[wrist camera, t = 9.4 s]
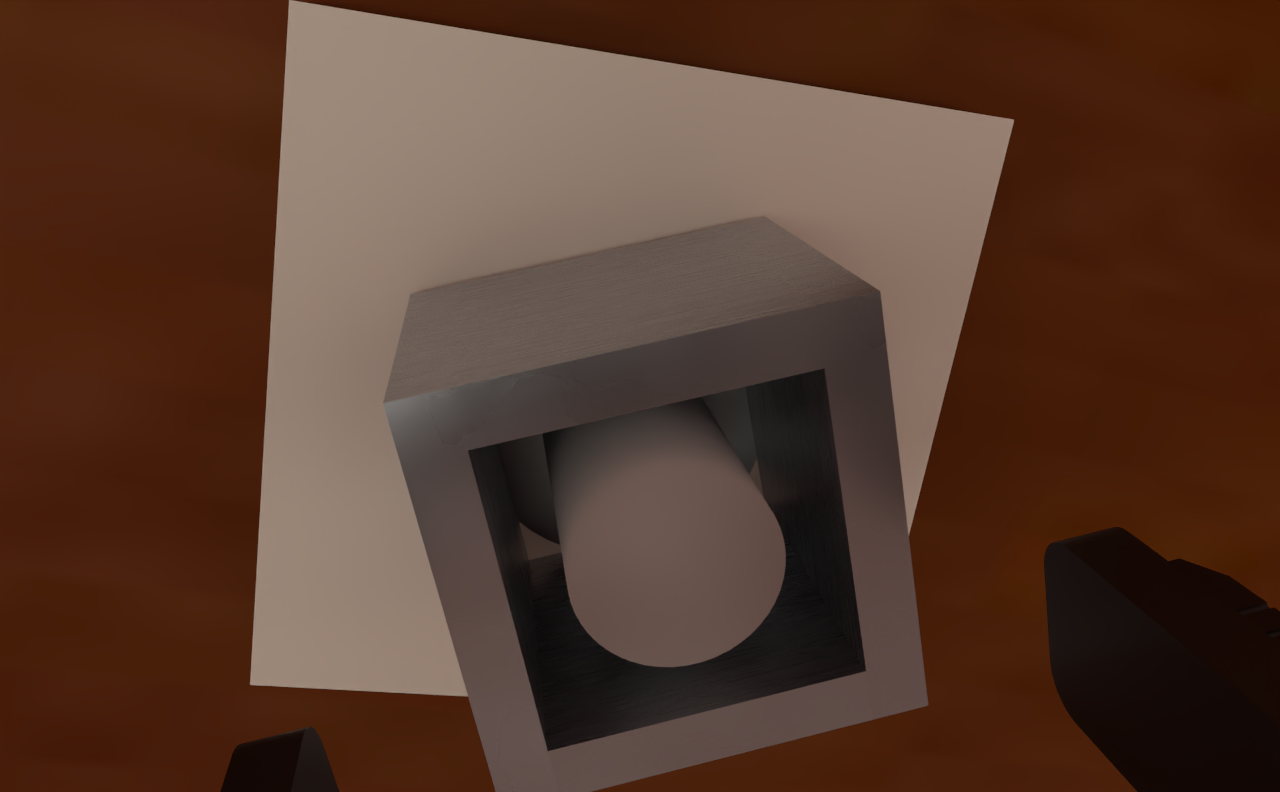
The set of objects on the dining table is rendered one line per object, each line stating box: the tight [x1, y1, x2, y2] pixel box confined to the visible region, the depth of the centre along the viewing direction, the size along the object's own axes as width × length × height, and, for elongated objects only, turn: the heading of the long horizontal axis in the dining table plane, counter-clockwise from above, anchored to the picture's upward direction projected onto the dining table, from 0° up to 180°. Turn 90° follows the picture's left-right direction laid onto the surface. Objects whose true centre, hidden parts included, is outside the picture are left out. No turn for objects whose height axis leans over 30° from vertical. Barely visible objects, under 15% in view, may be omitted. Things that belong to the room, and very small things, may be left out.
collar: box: [383, 217, 928, 792], centre depth 16 cm, size 6×6×6 cm
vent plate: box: [250, 0, 1014, 696], centre depth 17 cm, size 12×12×8 cm
